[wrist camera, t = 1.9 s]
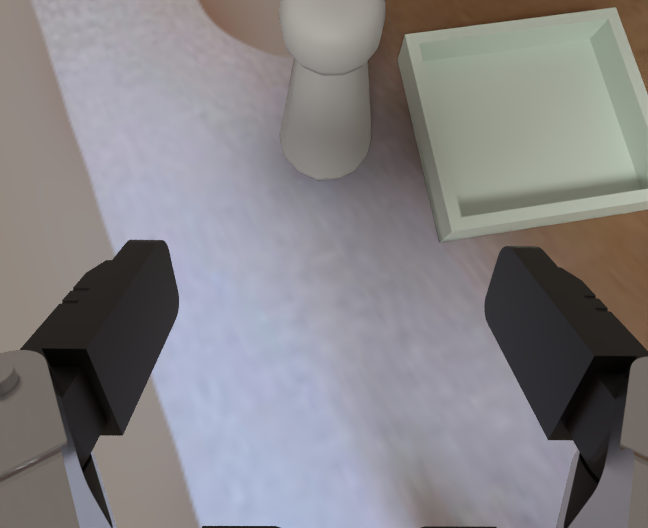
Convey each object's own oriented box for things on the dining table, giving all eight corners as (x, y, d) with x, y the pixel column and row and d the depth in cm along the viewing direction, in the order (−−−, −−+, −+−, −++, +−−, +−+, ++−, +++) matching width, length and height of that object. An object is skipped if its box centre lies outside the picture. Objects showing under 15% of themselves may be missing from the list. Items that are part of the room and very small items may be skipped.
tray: (591, 34, 30) (615, 7, 28) (651, 208, 28) (684, 195, 25) (397, 60, 30) (404, 34, 27) (439, 242, 27) (451, 231, 24)
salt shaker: (282, 192, 27) (253, 56, 14) (282, 116, 28) (255, -72, 16) (368, 192, 27) (414, 56, 15) (365, 116, 29) (404, -71, 16)
